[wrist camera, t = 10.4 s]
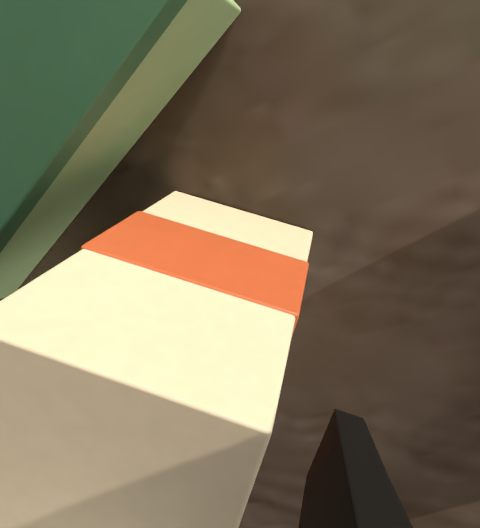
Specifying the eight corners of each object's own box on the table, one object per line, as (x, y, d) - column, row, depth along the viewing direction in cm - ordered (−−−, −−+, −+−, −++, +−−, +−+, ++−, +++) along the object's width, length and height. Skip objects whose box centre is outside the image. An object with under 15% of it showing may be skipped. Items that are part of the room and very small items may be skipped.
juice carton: (315, 230, 13) (277, 431, 6) (263, 389, 16) (187, 681, 8) (173, 187, 14) (-44, 319, 6) (144, 349, 16) (-36, 588, 9)
